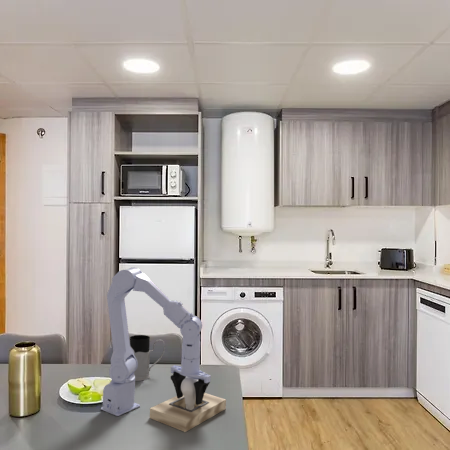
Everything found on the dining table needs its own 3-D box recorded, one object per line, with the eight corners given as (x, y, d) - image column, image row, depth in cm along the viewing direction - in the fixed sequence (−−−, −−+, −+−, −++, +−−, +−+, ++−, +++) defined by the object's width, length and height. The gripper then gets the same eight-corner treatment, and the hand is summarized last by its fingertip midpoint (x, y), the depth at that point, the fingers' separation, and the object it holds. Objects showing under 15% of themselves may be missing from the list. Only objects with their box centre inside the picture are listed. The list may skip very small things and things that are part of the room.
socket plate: (185, 432, 121) (185, 420, 121) (149, 418, 129) (150, 407, 129) (225, 408, 137) (226, 398, 137) (191, 397, 145) (192, 388, 145)
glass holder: (125, 373, 167) (127, 335, 167) (162, 371, 171) (163, 333, 171) (127, 381, 158) (129, 340, 159) (165, 378, 163) (167, 339, 163)
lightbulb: (200, 416, 131) (201, 380, 131) (180, 416, 130) (181, 380, 131) (199, 408, 137) (200, 373, 137) (179, 408, 137) (180, 373, 137)
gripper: (217, 358, 132) (215, 402, 132) (181, 349, 141) (180, 390, 141) (203, 363, 127) (201, 410, 126) (166, 354, 135) (165, 397, 135)
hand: (189, 400), depth 133 cm, fingers open, 7 cm apart
